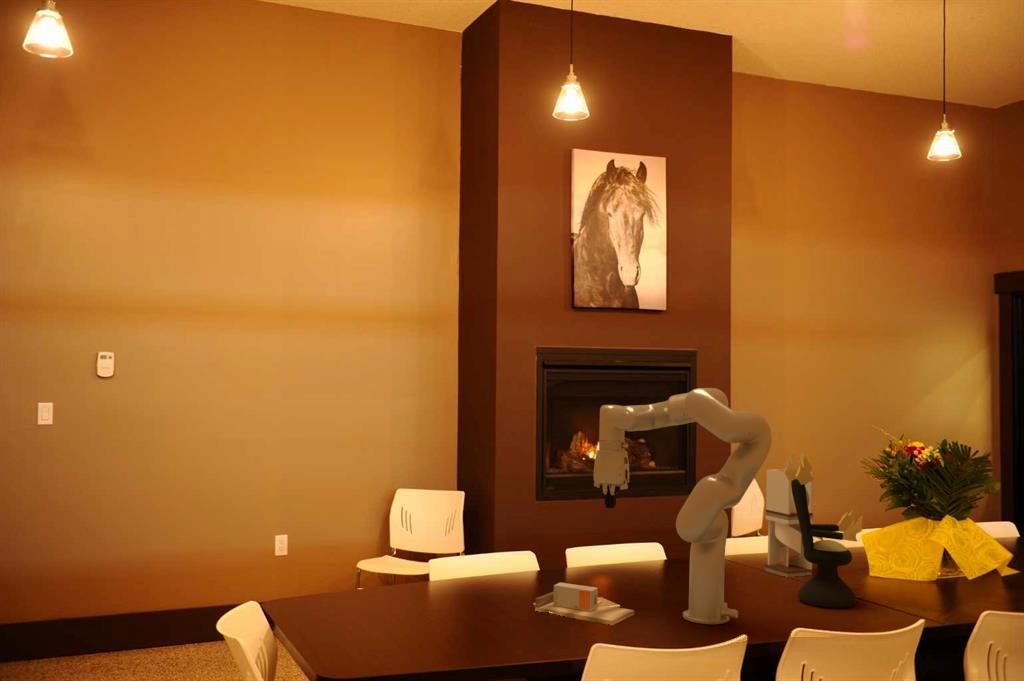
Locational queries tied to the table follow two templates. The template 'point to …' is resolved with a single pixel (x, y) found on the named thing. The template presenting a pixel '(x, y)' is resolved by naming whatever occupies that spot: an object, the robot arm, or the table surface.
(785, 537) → the white pedestal stand
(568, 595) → the skincare box
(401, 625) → the table surface
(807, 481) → the black chair
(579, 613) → the board
